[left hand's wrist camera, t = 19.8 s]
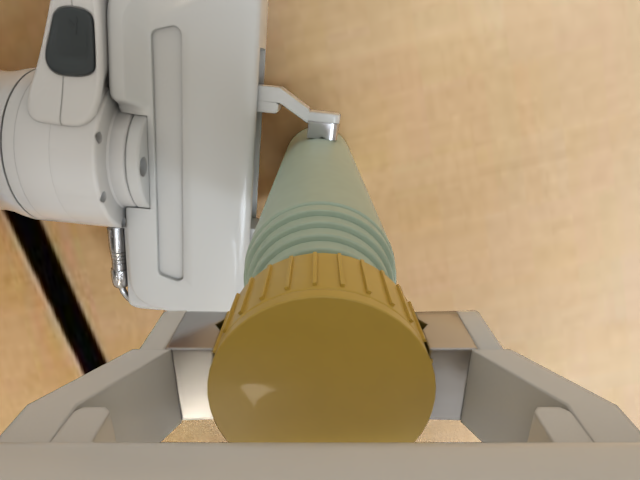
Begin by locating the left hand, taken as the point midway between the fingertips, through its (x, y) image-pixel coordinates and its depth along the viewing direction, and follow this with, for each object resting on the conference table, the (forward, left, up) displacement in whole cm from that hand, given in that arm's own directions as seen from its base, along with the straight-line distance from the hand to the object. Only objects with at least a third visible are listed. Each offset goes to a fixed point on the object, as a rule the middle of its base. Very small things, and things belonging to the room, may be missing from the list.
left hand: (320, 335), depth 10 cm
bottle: (0, 0, -22) cm, 22 cm away
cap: (0, 0, +2) cm, 2 cm away
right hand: (+1, -1, -17) cm, 17 cm away
